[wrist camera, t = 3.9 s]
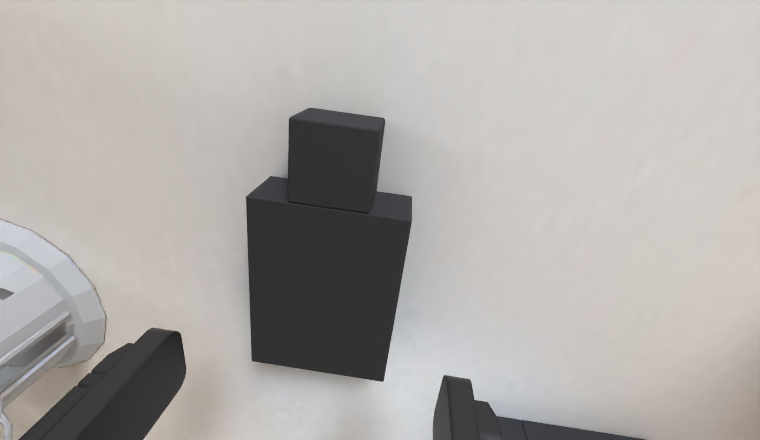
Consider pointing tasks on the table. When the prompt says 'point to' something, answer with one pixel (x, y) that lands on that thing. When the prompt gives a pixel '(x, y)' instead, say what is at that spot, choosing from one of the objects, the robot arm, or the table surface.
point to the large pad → (549, 432)
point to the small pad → (327, 250)
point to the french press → (41, 313)
